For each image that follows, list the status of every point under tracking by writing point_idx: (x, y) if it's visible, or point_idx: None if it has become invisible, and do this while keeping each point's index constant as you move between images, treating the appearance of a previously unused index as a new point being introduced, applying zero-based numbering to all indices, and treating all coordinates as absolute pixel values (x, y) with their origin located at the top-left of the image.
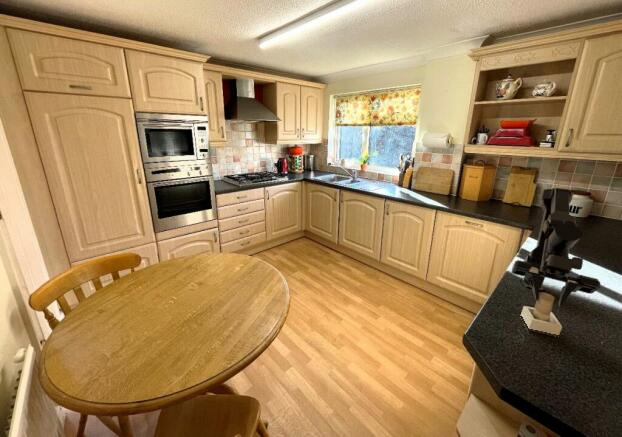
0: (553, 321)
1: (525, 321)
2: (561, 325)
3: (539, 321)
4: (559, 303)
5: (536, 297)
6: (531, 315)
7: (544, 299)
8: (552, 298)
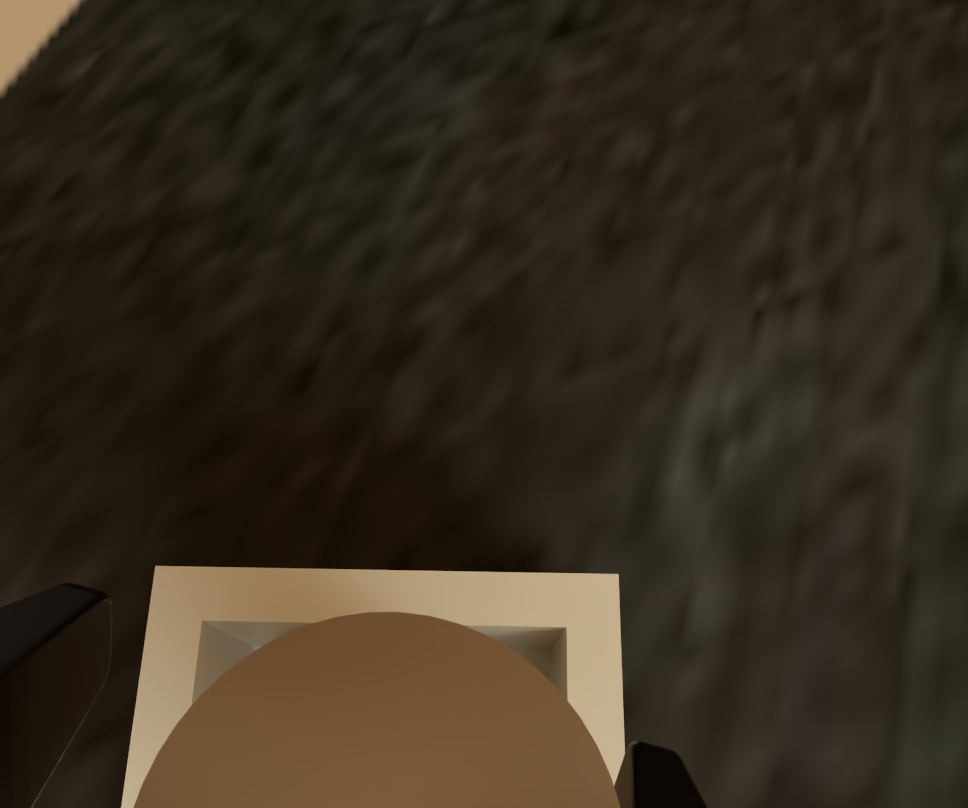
0: None
1: None
2: (151, 597)
3: (501, 574)
4: (55, 704)
5: (685, 768)
6: None
7: (500, 649)
8: (233, 735)
